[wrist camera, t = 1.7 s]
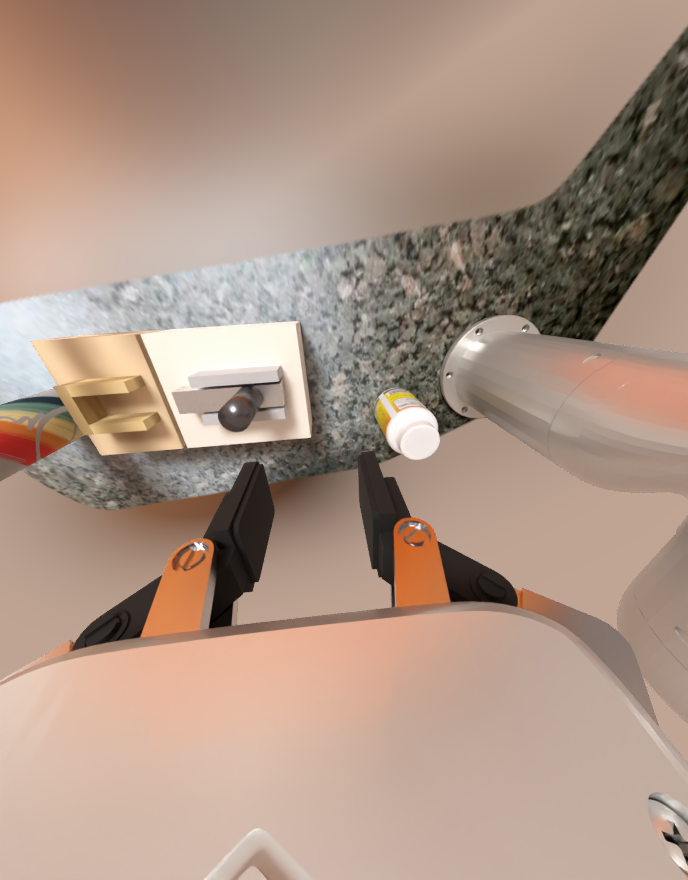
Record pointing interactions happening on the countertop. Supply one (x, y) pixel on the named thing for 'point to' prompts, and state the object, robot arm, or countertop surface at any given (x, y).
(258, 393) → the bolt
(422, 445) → the supplement bottle
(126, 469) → the countertop surface
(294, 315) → the countertop surface
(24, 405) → the lotion bottle
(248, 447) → the countertop surface
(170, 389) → the white slotted base
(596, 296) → the countertop surface
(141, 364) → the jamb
